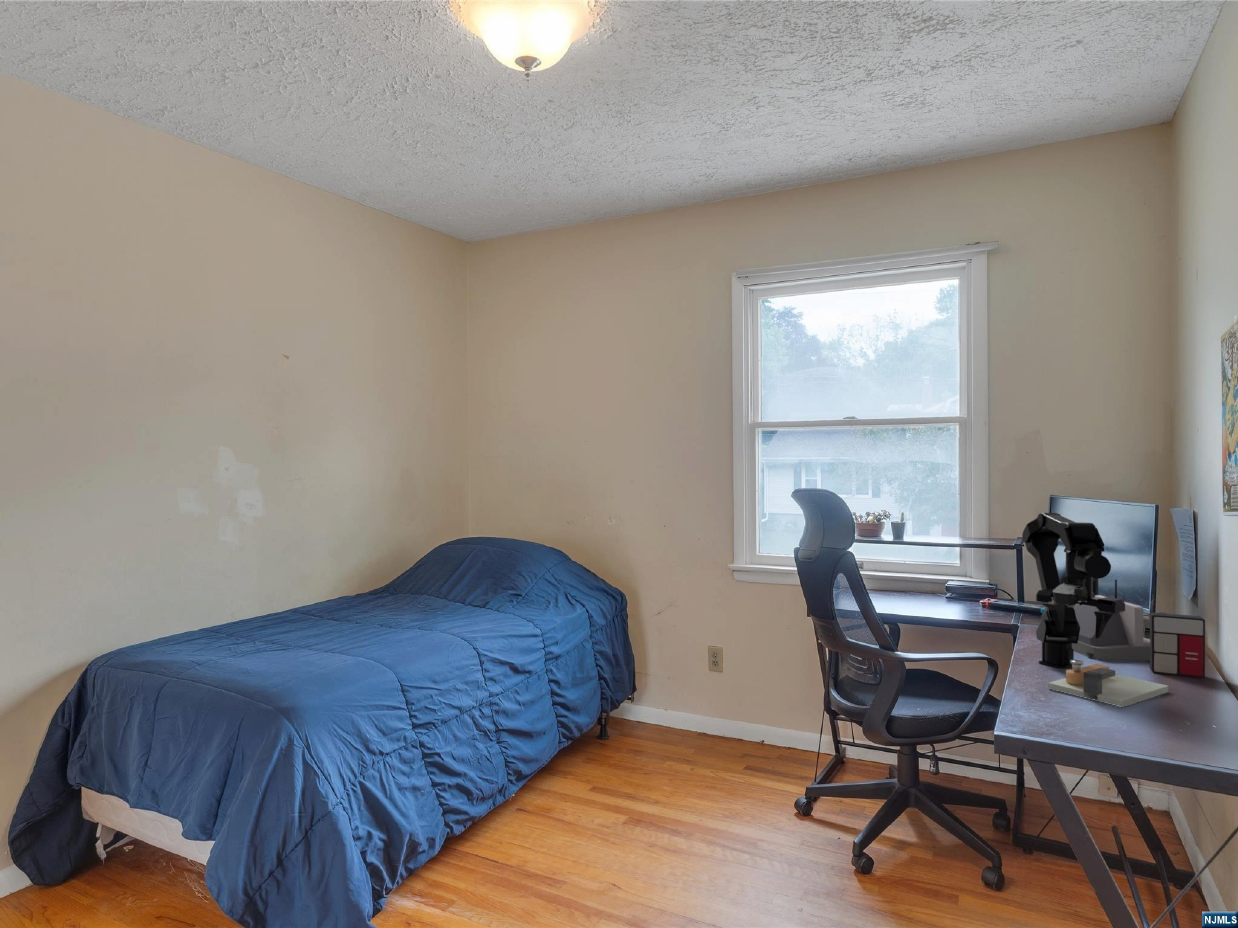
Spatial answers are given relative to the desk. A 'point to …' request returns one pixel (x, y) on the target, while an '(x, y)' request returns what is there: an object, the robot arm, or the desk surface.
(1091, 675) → the keeper
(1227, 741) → the desk surface
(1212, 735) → the desk surface
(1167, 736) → the desk surface
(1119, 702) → the base board
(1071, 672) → the link
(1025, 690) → the desk surface
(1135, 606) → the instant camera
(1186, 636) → the calculator
